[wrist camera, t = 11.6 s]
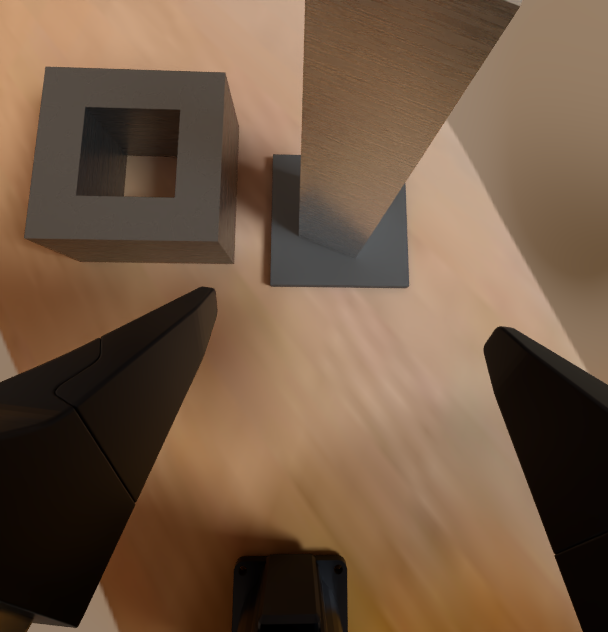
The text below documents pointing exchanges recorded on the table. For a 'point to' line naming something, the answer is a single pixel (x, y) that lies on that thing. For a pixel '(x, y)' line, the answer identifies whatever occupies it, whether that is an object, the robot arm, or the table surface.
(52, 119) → the socket block
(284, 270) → the rubber mat
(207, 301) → the robot arm
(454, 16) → the steel peg
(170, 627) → the table surface
